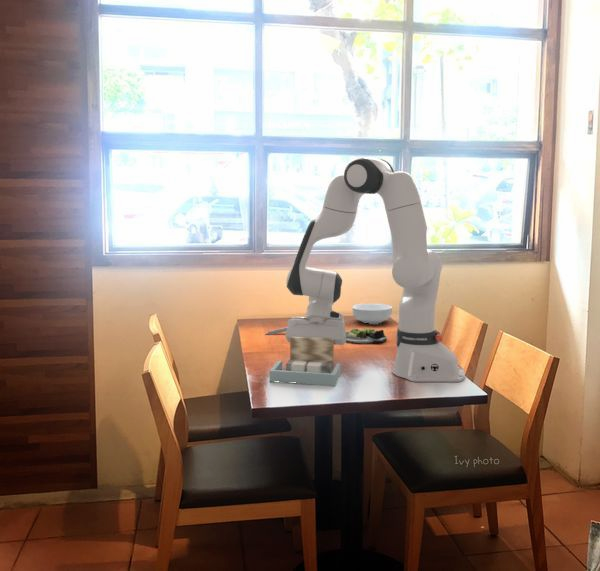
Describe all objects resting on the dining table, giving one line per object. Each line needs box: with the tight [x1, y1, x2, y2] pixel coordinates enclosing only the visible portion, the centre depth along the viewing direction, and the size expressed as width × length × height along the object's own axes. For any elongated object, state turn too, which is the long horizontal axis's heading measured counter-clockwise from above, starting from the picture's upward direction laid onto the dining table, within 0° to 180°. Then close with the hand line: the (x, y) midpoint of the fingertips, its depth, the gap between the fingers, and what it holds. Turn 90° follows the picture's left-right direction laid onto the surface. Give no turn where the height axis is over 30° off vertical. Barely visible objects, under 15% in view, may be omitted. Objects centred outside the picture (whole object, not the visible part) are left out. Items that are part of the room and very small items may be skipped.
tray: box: [269, 359, 341, 387], centre depth 199 cm, size 20×12×4 cm, turn 79°
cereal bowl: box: [351, 302, 393, 325], centre depth 278 cm, size 17×17×7 cm
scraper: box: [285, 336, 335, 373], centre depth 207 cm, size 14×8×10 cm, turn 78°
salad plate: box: [346, 328, 387, 344], centre depth 249 cm, size 19×18×5 cm
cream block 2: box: [307, 362, 322, 373], centre depth 201 cm, size 4×4×4 cm
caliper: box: [264, 326, 288, 335], centre depth 257 cm, size 20×1×6 cm, turn 99°
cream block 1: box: [291, 361, 307, 372], centre depth 202 cm, size 4×4×4 cm
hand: (313, 353), depth 212 cm, fingers closed
